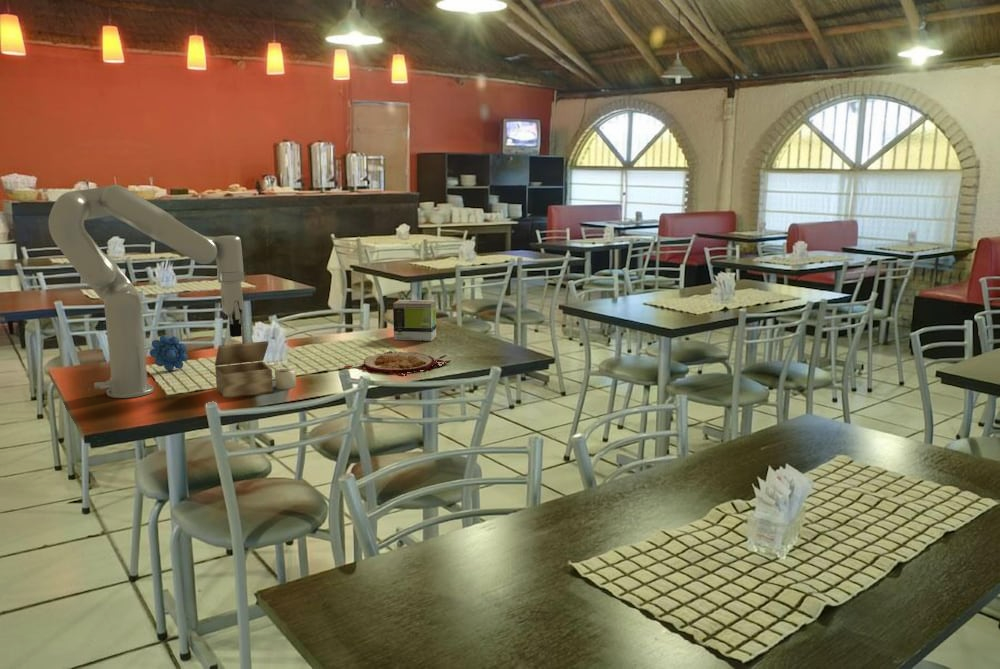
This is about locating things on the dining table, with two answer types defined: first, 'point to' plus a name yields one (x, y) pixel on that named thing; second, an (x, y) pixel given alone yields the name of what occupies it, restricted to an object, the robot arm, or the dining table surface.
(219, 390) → the carton
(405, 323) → the tea box
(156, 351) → the blue flower
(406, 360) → the plate with food
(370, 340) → the dining table surface
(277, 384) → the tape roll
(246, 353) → the lid
